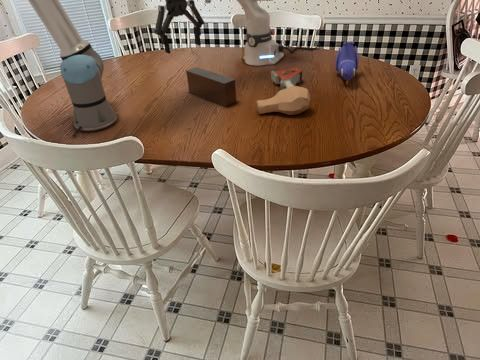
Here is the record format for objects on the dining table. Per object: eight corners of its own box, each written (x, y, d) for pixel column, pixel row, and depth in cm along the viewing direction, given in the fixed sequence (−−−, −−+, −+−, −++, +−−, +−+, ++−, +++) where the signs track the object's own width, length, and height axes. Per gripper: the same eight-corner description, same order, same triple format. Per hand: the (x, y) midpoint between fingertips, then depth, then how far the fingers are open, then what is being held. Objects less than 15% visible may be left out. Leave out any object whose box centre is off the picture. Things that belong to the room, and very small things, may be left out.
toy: (333, 78, 167) (335, 88, 145) (335, 40, 160) (337, 44, 138) (355, 78, 165) (360, 87, 142) (358, 39, 158) (364, 43, 136)
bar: (236, 102, 141) (235, 79, 136) (226, 107, 138) (224, 83, 133) (199, 88, 155) (196, 66, 150) (189, 92, 152) (186, 70, 147)
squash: (314, 116, 128) (313, 95, 122) (259, 125, 130) (256, 105, 124) (308, 99, 136) (307, 78, 129) (257, 108, 138) (253, 88, 131)
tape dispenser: (295, 102, 142) (315, 82, 154) (296, 90, 138) (316, 70, 151) (257, 92, 149) (279, 74, 162) (257, 81, 146) (279, 63, 158)
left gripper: (198, -19, 135) (205, 39, 147) (137, -8, 123) (150, 54, 136) (208, -17, 130) (215, 43, 142) (145, -6, 118) (158, 58, 131)
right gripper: (228, -43, 143) (230, -4, 151) (187, -37, 131) (192, 4, 140) (238, -42, 139) (240, -3, 147) (198, -36, 128) (202, 6, 136)
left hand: (183, 48), depth 139 cm, fingers open, 13 cm apart
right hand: (216, 1), depth 143 cm, fingers open, 8 cm apart
